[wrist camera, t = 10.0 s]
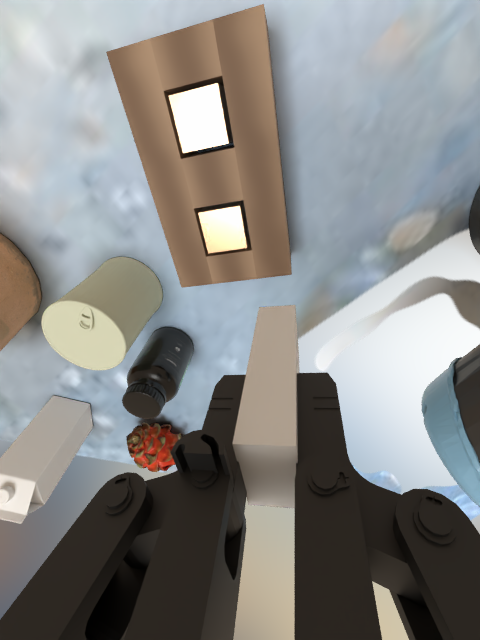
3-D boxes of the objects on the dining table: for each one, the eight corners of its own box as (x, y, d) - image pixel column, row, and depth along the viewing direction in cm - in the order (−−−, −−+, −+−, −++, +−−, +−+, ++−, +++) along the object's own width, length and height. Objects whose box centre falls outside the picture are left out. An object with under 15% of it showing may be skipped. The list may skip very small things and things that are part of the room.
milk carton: (93, 426, 60) (26, 533, 44) (59, 418, 60) (-21, 523, 44) (90, 402, 56) (15, 512, 40) (53, 394, 56) (-37, 500, 40)
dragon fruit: (136, 406, 58) (194, 423, 61) (119, 448, 57) (178, 462, 61) (133, 424, 49) (200, 442, 53) (113, 473, 49) (182, 488, 53)
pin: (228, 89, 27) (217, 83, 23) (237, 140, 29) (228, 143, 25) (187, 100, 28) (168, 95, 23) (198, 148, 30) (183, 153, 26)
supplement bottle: (203, 351, 46) (180, 414, 36) (170, 367, 48) (141, 430, 39) (174, 318, 43) (141, 377, 33) (141, 337, 46) (101, 397, 36)
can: (170, 273, 39) (131, 324, 29) (155, 325, 44) (117, 384, 34) (101, 245, 38) (36, 288, 28) (94, 302, 43) (37, 355, 33)
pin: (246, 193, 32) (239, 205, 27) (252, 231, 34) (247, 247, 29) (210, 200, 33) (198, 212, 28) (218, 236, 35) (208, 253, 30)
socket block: (267, 27, 25) (263, 4, 20) (290, 253, 36) (291, 274, 31) (138, 64, 28) (106, 51, 23) (195, 265, 38) (181, 287, 33)
